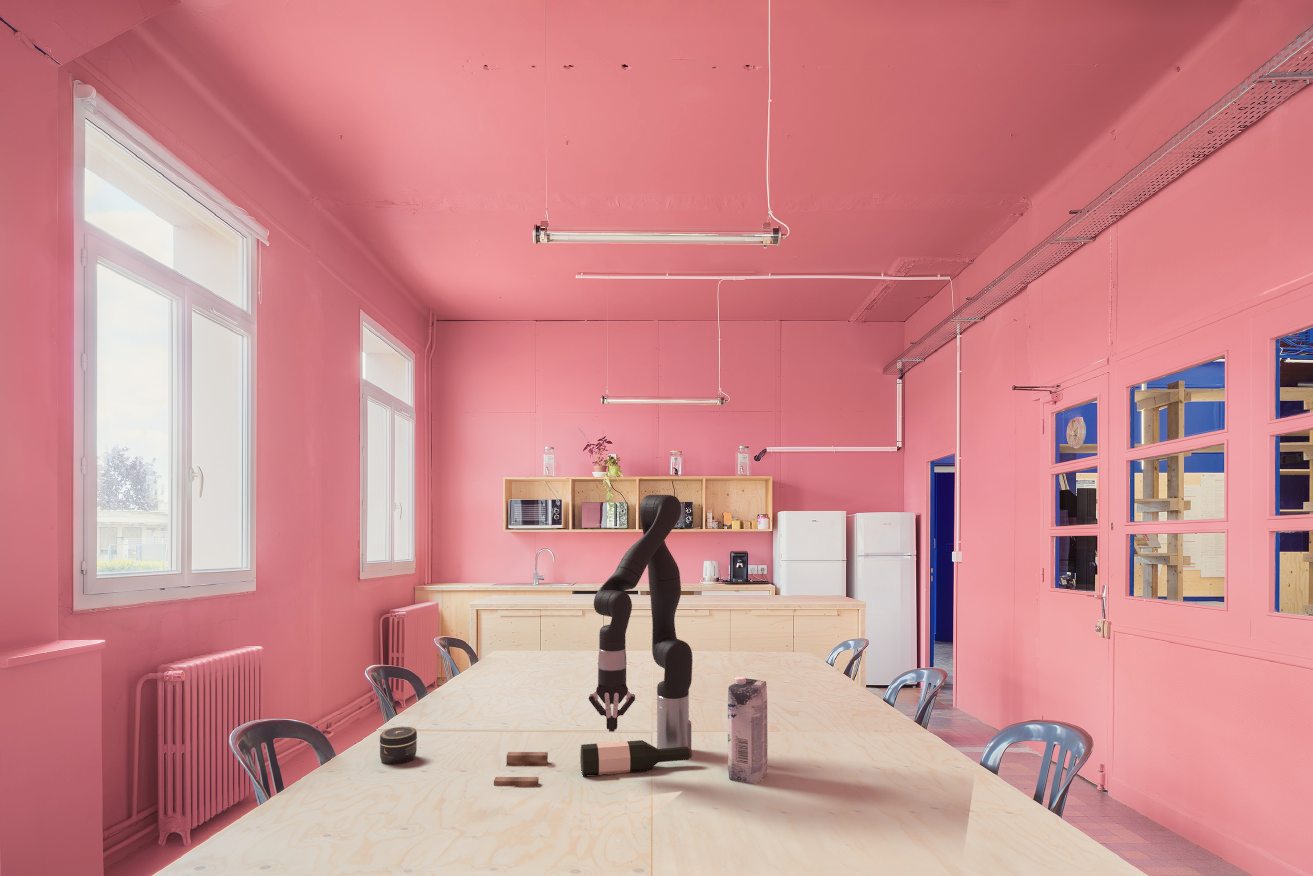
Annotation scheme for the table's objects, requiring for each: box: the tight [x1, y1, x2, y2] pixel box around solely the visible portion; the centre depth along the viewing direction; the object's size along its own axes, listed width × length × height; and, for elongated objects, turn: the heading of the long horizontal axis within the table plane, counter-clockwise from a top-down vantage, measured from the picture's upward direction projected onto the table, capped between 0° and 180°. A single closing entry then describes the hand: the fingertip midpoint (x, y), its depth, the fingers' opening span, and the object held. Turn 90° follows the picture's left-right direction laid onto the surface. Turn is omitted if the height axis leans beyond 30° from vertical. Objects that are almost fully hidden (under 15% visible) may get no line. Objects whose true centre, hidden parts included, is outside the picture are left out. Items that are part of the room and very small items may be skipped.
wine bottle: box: [579, 739, 693, 777], centre depth 205 cm, size 8×8×30 cm
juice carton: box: [727, 675, 768, 785], centre depth 198 cm, size 9×10×27 cm
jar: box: [379, 726, 418, 765], centre depth 213 cm, size 10×10×8 cm
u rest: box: [493, 751, 549, 787], centre depth 201 cm, size 11×19×3 cm, turn 0°
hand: (611, 730), depth 201 cm, fingers closed
